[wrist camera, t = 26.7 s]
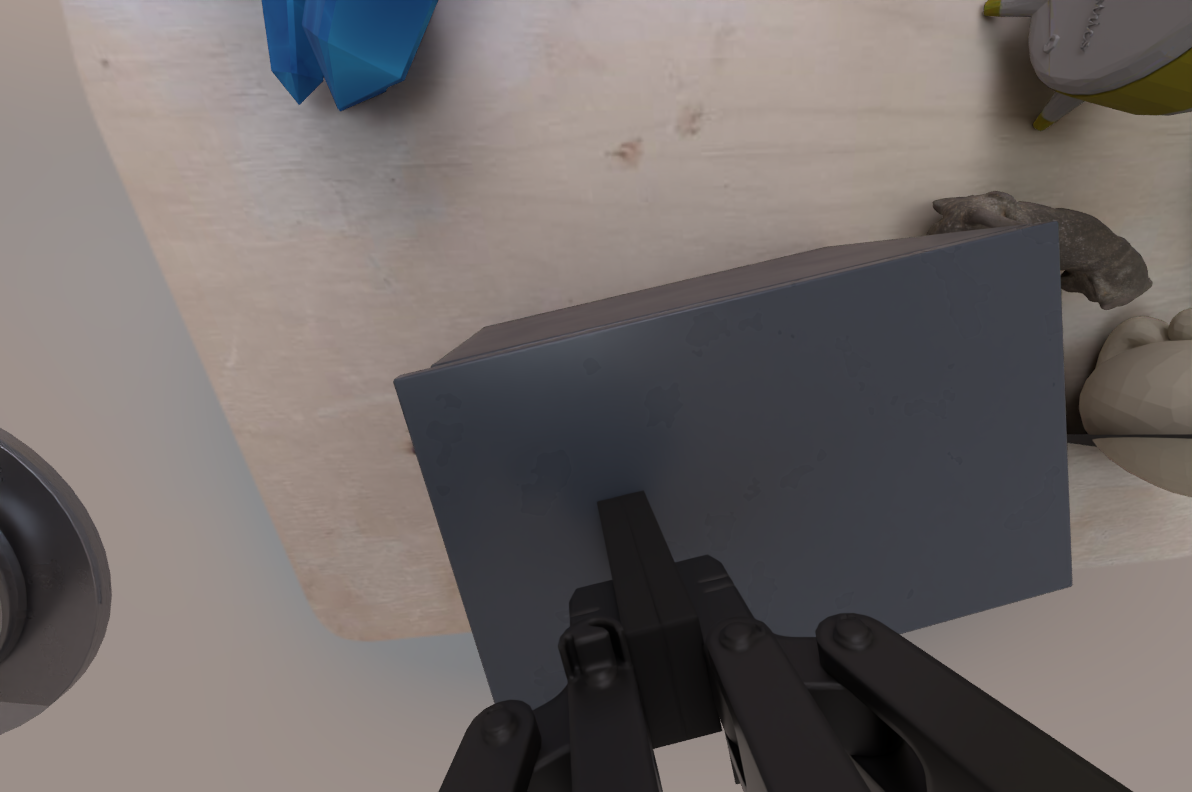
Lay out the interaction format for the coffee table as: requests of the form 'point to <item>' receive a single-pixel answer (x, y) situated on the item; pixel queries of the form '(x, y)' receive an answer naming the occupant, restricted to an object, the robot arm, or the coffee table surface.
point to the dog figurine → (1084, 243)
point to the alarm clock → (1108, 53)
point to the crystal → (344, 44)
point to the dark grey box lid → (768, 450)
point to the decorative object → (1144, 401)
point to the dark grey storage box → (694, 292)
